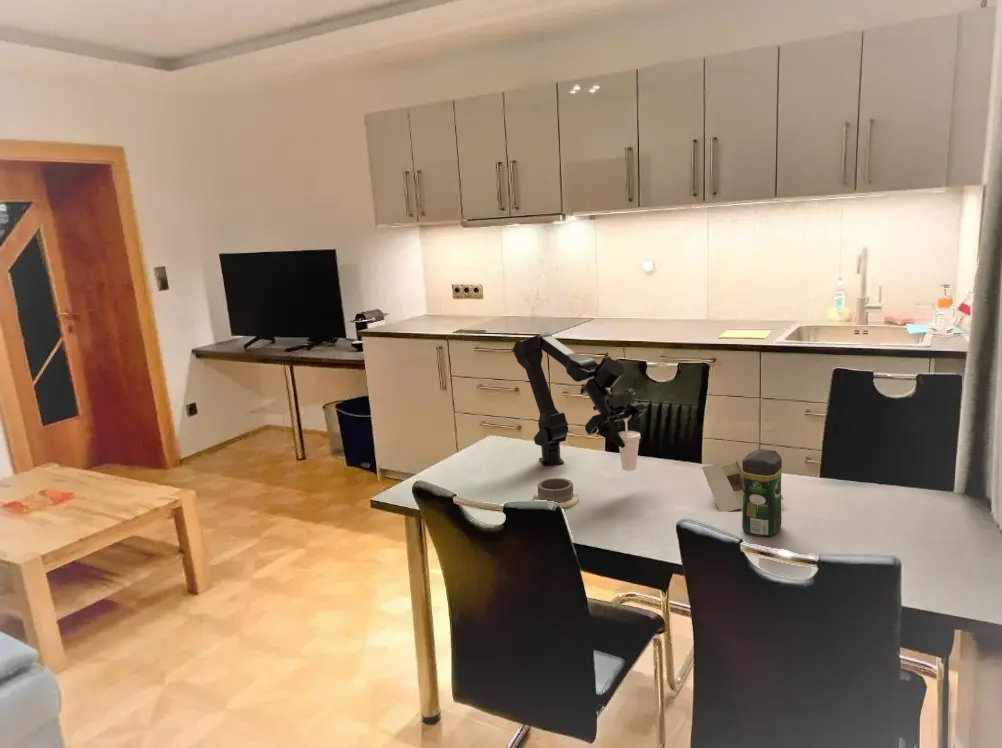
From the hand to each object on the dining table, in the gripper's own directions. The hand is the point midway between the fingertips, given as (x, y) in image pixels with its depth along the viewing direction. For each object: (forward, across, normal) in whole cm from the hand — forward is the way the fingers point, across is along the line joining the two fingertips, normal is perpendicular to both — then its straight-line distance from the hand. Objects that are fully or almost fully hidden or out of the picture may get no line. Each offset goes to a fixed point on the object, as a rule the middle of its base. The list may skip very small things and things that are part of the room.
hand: (632, 444), depth 190 cm
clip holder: (+2, -19, +16) cm, 25 cm away
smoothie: (+4, 0, +6) cm, 7 cm away
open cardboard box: (+26, +14, -8) cm, 31 cm away
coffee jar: (+36, +3, -17) cm, 40 cm away
